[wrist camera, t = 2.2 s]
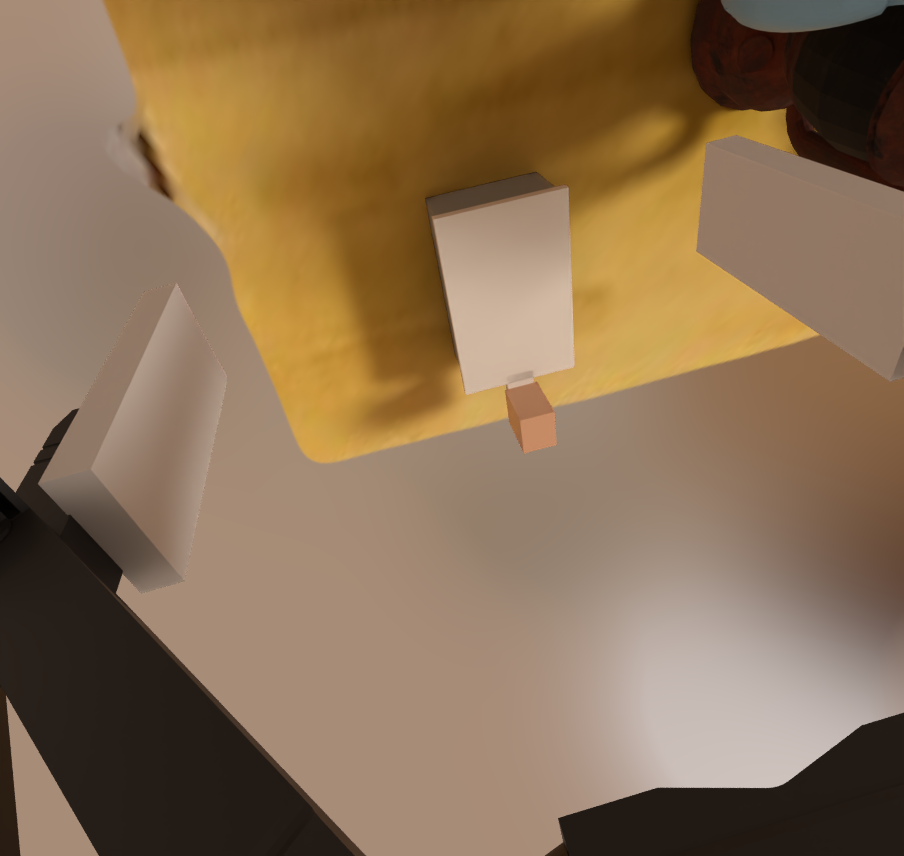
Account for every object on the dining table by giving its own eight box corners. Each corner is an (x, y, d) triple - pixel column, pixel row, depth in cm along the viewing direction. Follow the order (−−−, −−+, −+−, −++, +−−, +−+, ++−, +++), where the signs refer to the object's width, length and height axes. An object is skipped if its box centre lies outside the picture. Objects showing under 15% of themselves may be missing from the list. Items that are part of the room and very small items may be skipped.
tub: (425, 198, 48) (437, 220, 44) (536, 171, 49) (560, 190, 44) (455, 354, 59) (467, 385, 54) (547, 331, 59) (567, 360, 54)
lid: (428, 211, 44) (445, 242, 39) (559, 180, 45) (593, 206, 40) (468, 419, 58) (484, 463, 53) (568, 393, 59) (595, 434, 53)
